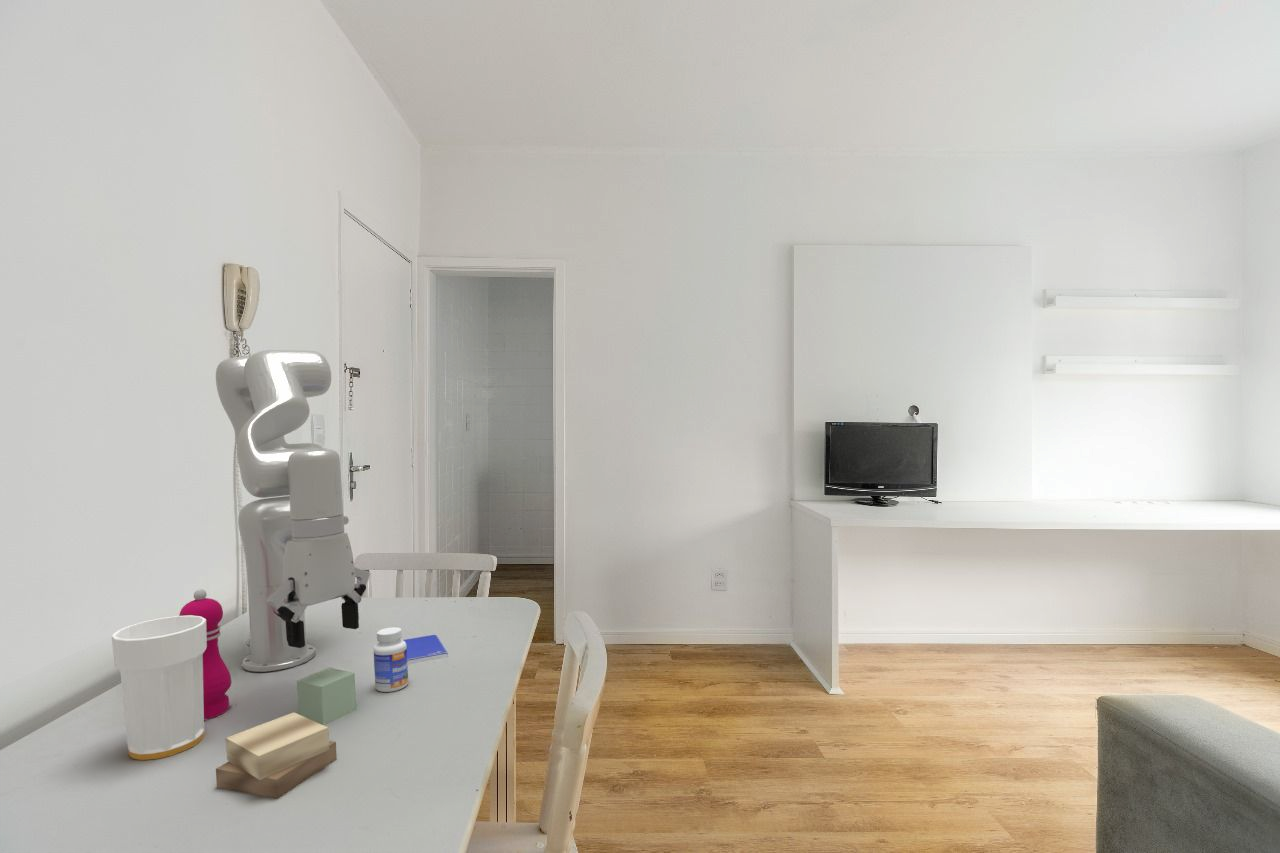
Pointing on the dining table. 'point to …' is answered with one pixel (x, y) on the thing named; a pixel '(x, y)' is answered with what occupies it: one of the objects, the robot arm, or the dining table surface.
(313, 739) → the oak top block
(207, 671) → the pepper mill
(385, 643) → the pill bottle
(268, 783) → the walnut base block
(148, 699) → the cup
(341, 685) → the sage block
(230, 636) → the dining table surface
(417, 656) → the hard drive
